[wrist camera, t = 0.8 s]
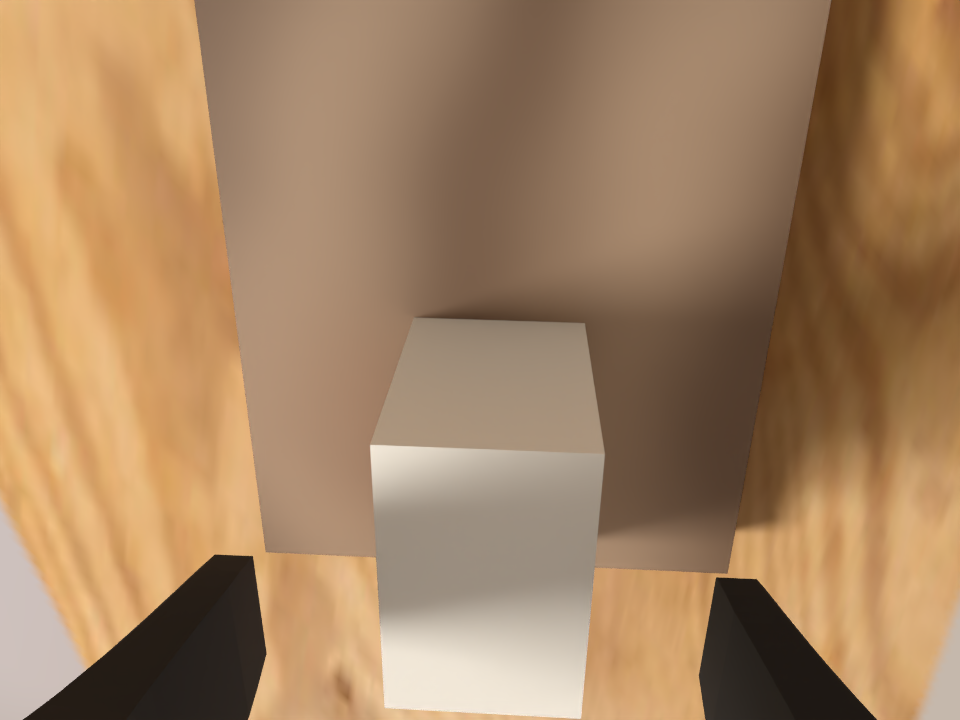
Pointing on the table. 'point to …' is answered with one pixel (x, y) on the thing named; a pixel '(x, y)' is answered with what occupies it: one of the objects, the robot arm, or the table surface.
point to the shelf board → (510, 230)
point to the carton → (487, 517)
